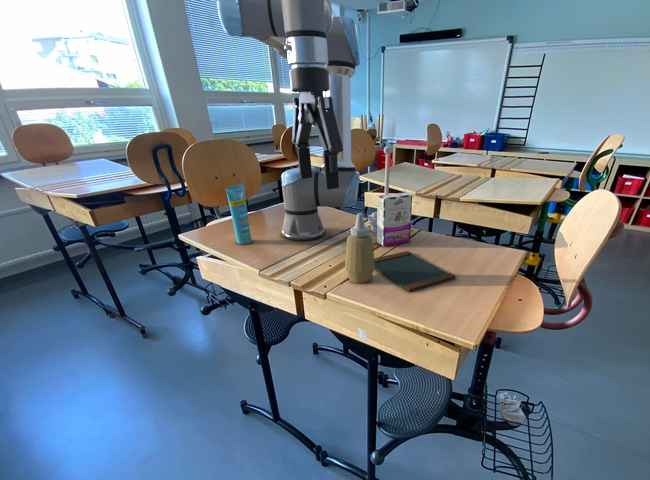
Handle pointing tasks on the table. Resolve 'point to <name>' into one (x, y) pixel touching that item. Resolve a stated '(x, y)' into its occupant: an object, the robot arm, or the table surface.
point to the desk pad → (410, 271)
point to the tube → (239, 213)
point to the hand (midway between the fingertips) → (318, 183)
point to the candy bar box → (394, 218)
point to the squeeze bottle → (359, 253)
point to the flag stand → (387, 167)
